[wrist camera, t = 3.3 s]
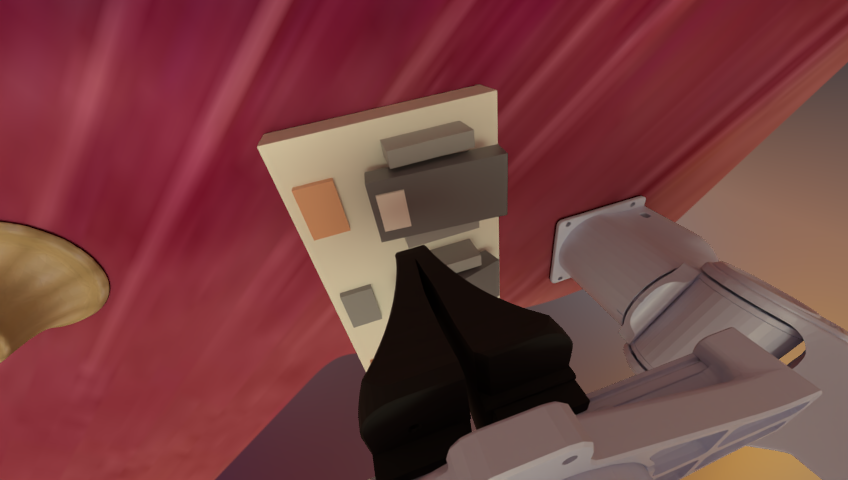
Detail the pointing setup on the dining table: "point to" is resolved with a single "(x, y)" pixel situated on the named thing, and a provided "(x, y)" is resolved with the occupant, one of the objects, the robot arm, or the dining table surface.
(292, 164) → the switch panel
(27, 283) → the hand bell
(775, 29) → the dining table surface
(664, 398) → the robot arm
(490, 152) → the rocker
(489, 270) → the rocker middle
